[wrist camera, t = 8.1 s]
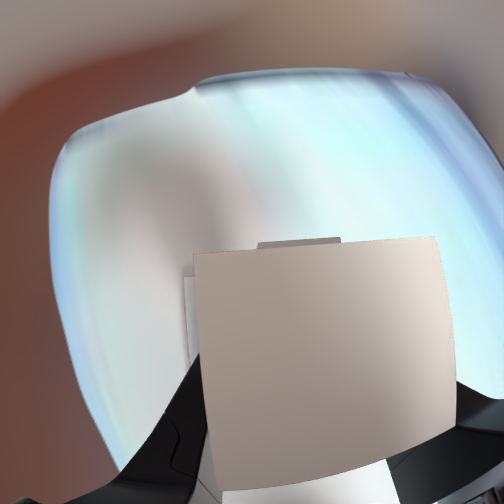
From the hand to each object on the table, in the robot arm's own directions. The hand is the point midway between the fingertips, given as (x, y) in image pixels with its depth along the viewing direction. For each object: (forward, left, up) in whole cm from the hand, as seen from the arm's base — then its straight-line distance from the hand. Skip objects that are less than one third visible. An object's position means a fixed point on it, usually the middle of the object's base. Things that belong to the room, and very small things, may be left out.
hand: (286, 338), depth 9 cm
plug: (0, 0, -7) cm, 7 cm away
